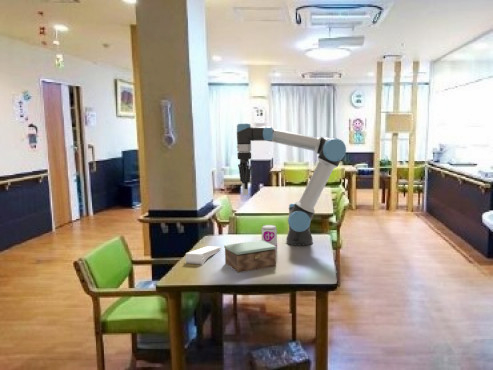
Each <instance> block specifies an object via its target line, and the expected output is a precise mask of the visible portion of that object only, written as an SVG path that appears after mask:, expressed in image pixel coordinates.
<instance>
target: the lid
mask: <svg viewBox="0 0 493 370" xmlns="http://www.w3.org/2000/svg"><path fill="white" fill-rule="evenodd" d="M223 246H224V247H223V248H224V249H225V248H226V249H228V250H229V251H231V252H233V253H235V254H237V255H240V254H246V253H253V252H259V251H266V250H272V249H277V250H278V246H277V247H276V246H274V245H272V244H270V243H267V242H265V241H262V239H260V240H259V239H258V240H253V241H244V242H239V243H230V244H226V245H223Z"/></svg>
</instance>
